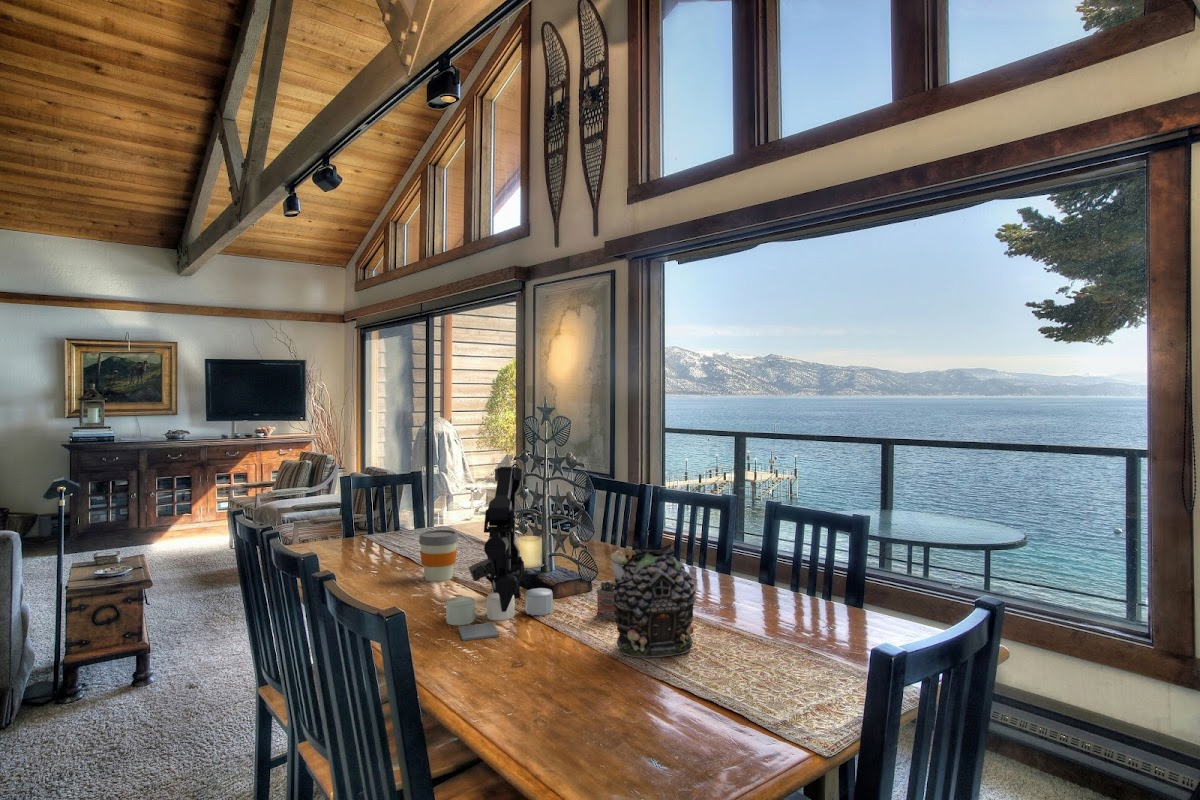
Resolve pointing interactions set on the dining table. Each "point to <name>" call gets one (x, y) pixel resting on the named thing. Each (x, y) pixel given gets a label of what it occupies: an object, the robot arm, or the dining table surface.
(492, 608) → the cream cup
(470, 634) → the slate coaster
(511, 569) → the robot arm
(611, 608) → the lighter
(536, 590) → the light grey cylinder
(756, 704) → the dining table surface
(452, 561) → the reusable coffee cup
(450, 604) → the sage cup
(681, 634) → the decorative house
